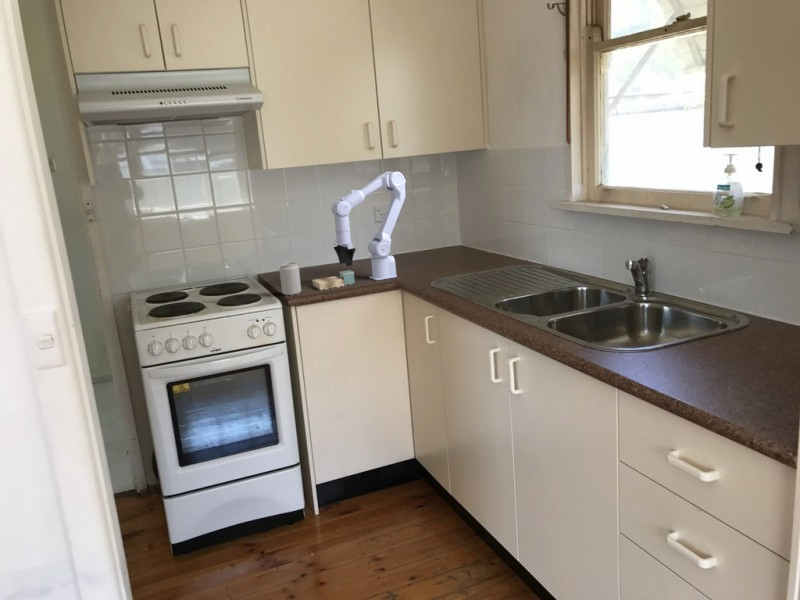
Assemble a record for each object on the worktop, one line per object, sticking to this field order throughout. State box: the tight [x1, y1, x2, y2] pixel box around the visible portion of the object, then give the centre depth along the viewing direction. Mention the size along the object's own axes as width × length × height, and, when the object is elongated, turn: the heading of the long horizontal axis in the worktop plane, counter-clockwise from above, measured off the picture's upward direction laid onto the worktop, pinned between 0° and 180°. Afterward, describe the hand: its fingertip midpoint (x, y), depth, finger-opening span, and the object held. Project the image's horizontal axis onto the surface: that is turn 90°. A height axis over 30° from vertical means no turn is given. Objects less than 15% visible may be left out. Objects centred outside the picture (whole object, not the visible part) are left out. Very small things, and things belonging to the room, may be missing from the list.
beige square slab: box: [311, 276, 345, 291], centre depth 267 cm, size 10×10×3 cm
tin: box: [339, 269, 356, 286], centre depth 269 cm, size 4×4×5 cm
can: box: [278, 262, 302, 296], centre depth 257 cm, size 8×8×12 cm
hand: (345, 264), depth 267 cm, fingers open, 7 cm apart
